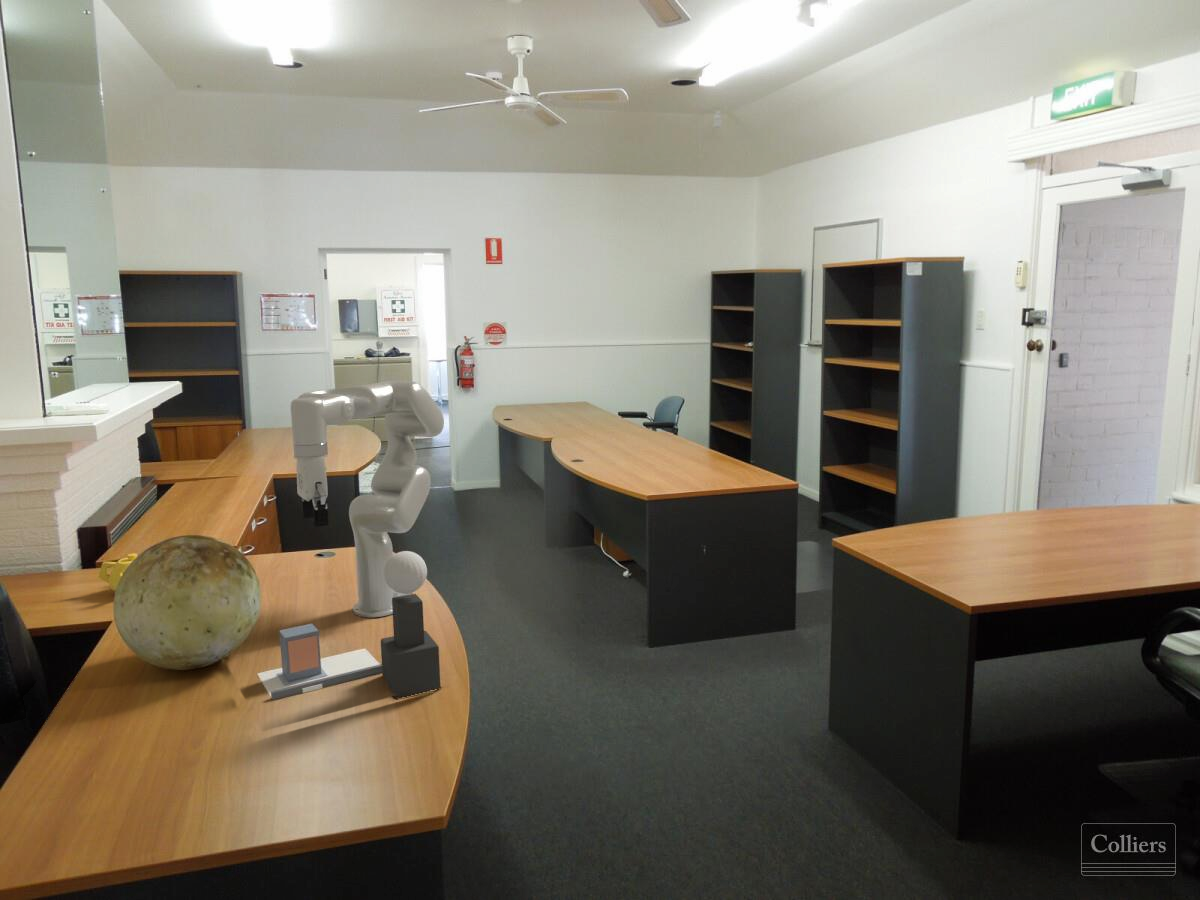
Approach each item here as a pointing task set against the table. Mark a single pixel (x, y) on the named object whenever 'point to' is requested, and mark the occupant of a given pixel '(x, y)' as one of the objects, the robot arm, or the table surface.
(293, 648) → the box
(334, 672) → the shelf board
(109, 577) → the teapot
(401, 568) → the sculpture
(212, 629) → the speckled stone ball
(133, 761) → the table surface
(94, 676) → the table surface
